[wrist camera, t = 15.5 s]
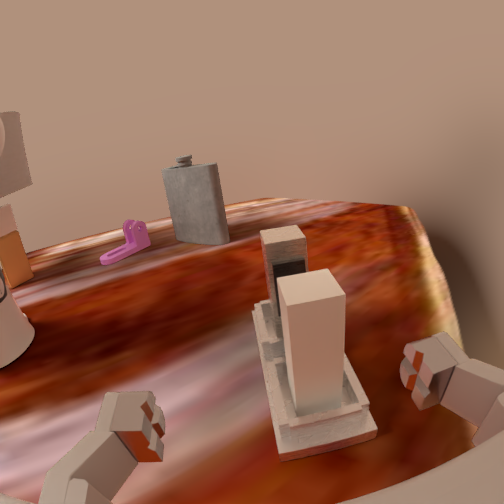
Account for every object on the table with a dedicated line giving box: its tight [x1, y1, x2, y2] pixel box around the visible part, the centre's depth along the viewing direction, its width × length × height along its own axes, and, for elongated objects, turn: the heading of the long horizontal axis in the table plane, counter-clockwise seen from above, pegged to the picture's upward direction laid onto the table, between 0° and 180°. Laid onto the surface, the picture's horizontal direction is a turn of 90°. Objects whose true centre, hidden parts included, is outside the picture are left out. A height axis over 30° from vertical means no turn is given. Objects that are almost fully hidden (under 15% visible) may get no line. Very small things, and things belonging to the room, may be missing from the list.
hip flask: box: [162, 155, 230, 245], centre depth 71 cm, size 16×4×20 cm, turn 58°
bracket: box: [100, 220, 151, 265], centre depth 73 cm, size 13×6×7 cm, turn 141°
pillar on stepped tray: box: [252, 225, 378, 462], centre depth 30 cm, size 8×22×14 cm, turn 6°
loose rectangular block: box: [277, 269, 345, 417], centre depth 25 cm, size 4×5×12 cm
